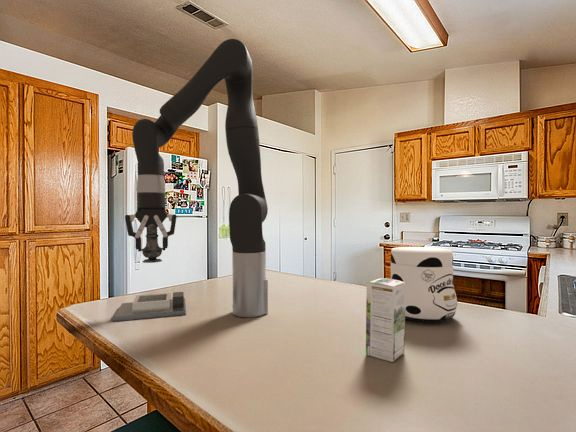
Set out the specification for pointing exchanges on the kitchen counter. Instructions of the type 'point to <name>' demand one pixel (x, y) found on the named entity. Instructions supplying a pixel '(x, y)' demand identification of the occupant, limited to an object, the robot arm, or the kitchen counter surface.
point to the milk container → (425, 282)
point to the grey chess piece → (152, 246)
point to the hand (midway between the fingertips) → (152, 250)
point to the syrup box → (385, 319)
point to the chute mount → (152, 307)
